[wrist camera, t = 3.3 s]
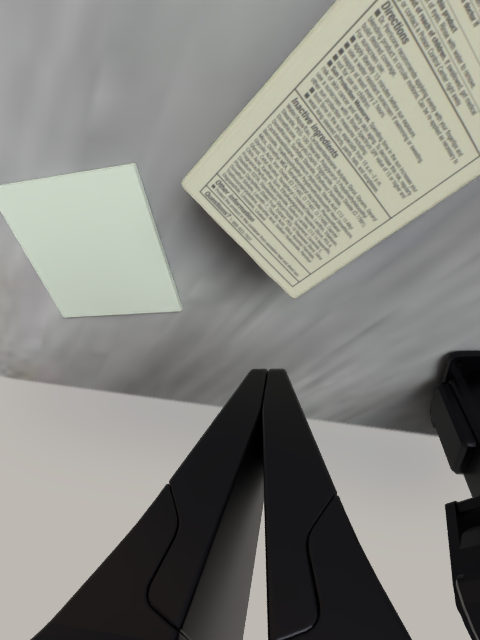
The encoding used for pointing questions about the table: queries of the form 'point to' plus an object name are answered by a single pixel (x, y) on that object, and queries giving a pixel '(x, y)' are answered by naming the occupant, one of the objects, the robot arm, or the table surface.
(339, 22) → the skincare box
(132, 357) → the table surface
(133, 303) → the mat
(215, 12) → the table surface
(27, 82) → the table surface
